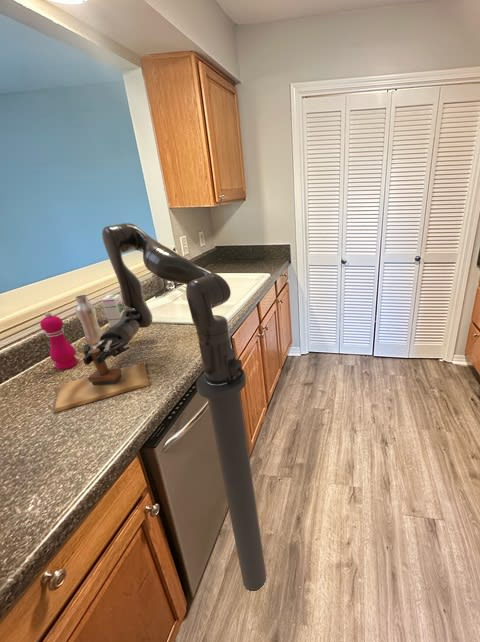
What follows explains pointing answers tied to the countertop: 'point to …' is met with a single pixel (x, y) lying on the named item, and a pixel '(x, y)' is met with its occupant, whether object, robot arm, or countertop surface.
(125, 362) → the countertop surface
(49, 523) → the countertop surface
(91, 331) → the plastic bottle
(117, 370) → the scrub brush
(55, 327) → the pepper mill
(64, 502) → the countertop surface
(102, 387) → the cutting board
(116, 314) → the syrup box
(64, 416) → the countertop surface
